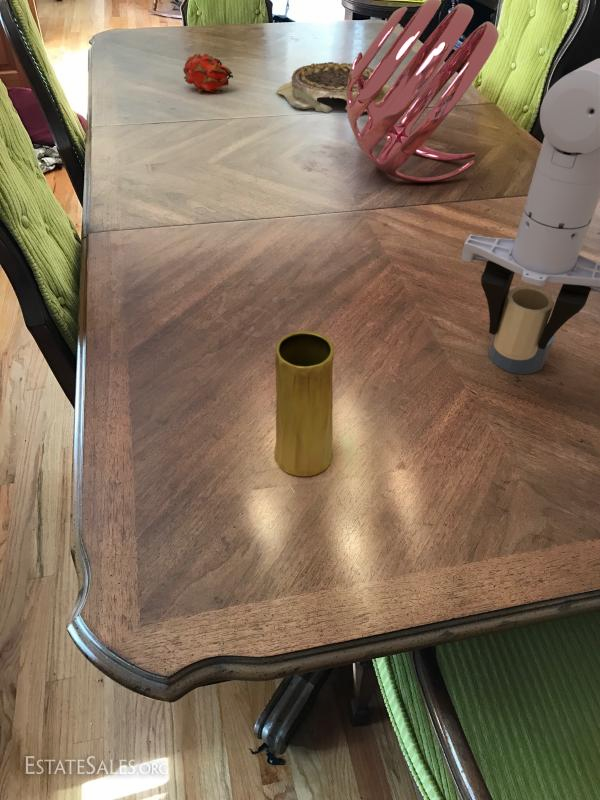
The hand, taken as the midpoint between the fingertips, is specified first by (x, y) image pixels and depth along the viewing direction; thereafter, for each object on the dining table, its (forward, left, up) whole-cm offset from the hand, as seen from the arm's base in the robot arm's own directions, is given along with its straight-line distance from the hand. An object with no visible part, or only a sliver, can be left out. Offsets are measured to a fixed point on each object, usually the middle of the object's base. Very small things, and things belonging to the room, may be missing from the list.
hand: (518, 335), depth 63 cm
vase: (+15, +18, -10) cm, 25 cm away
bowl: (0, -9, -9) cm, 13 cm away
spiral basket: (+32, -54, -10) cm, 64 cm away
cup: (0, 0, -1) cm, 1 cm away
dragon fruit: (+89, -71, -10) cm, 115 cm away
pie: (+61, -83, -10) cm, 104 cm away
